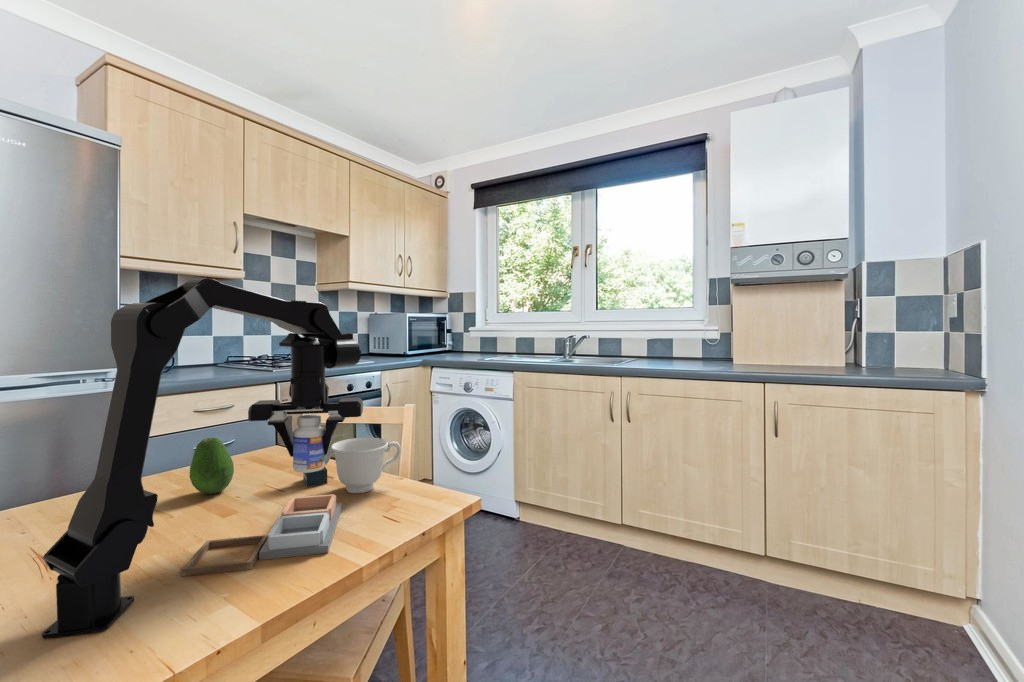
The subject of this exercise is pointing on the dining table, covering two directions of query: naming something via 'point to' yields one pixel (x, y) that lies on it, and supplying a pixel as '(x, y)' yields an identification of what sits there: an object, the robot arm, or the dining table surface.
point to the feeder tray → (224, 567)
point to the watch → (318, 473)
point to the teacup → (361, 461)
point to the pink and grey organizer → (303, 527)
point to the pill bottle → (308, 444)
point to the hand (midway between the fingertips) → (309, 455)
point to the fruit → (211, 466)
